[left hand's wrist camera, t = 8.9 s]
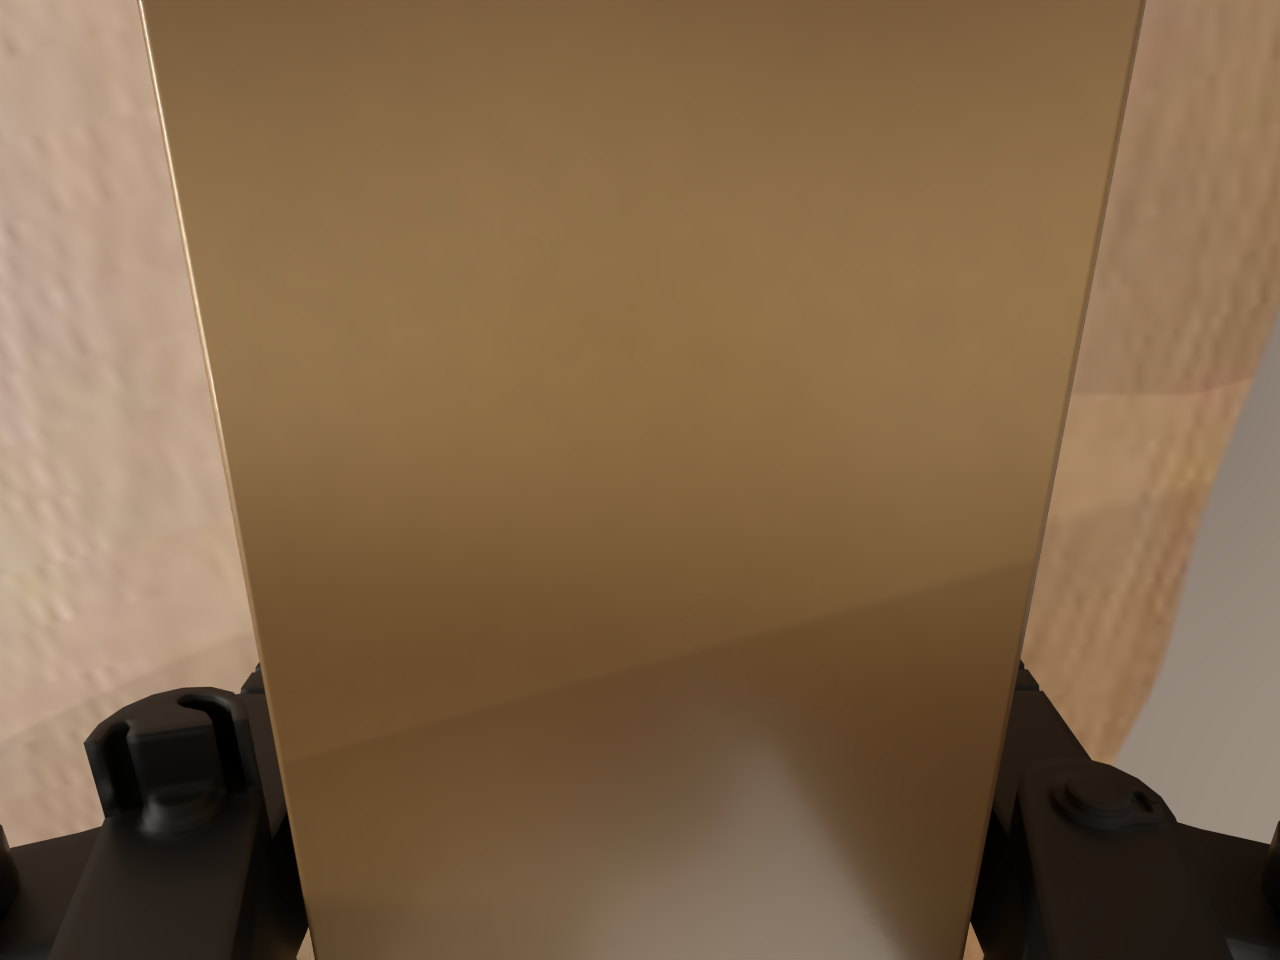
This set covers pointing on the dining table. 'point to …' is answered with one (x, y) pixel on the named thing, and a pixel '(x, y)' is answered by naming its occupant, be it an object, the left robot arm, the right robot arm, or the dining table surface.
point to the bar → (640, 445)
